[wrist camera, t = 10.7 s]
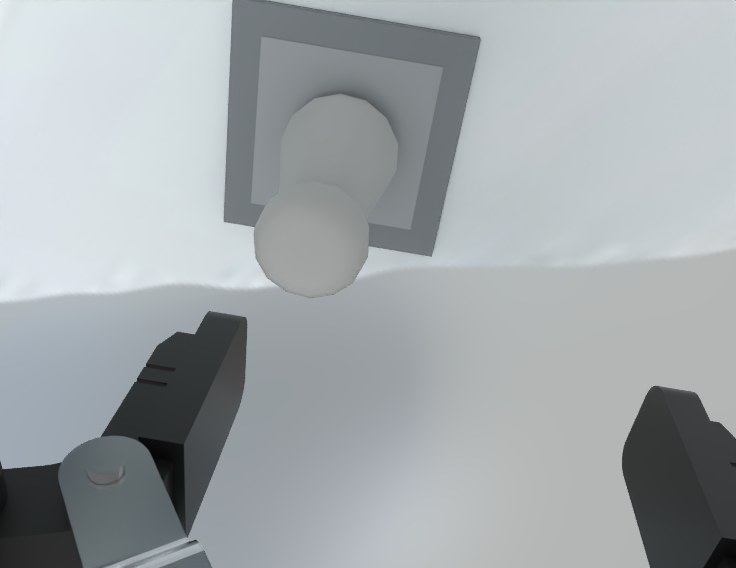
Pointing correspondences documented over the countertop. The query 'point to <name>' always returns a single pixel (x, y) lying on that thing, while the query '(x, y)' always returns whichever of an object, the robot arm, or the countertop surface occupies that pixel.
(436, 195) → the coaster
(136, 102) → the countertop surface
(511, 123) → the countertop surface
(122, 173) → the countertop surface
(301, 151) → the grey rounded lobed piece
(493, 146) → the countertop surface
